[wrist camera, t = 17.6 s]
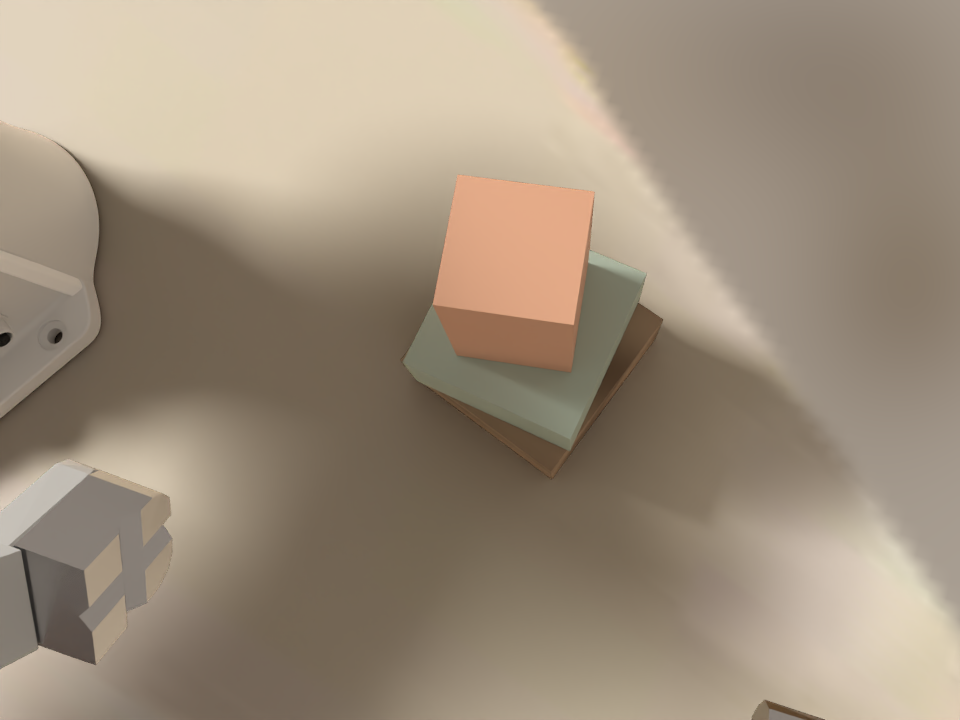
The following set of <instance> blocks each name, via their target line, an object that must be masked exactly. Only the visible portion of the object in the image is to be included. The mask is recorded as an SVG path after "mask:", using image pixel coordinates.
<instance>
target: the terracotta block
mask: <svg viewBox="0 0 960 720" xmlns="http://www.w3.org/2000/svg"><path fill="white" fill-rule="evenodd" d="M594 193H595V192H593V191H585V190H577V189H569V188H561V187H553V186H545V185H537V184H529V183H521V182H512V181H504V180H496V179H488V178H480V177H472V176H464V175H458V176H457V181H456V186H455V191H454V197H453V202H452V207H451V212H450V217H449V222H448V228H447V233H446V238H445V243H444V248H443V253H442V259H441V264H440V269H439V274H438V279H437V284H436V290H435V295H434V300H433V307H434V309H435V311H436V313H437V315H438V317H439V319H440V321H441V324H442V326H443V328H444V330H445V332H446V334H447V336H448V338H449V340H450V342H451V344H452V347H453V349H454V351H455V353H456V355H457V356H464V357H470V358H477V359H484V360H490V361H497V362H504V363H510V364H517V365H524V366H530V367H537V368H544V369H550V370H557V371H564V372H570V373H571V371H572V365H573V358H574V352H575V345H576V339H577V333H578V326H579V320H580V313H581V307H582V300H583V294H584V288H585V281H586V275H587V268H588V261H589V250H590V238H591V227H592V216H593V204H594Z"/></svg>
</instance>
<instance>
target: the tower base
mask: <svg viewBox="0 0 960 720" xmlns="http://www.w3.org/2000/svg"><path fill="white" fill-rule="evenodd" d="M662 321H663V319H662V318H660V317H659V316H657V315H656V314H654V313H653V312H651V311H650V310H648V309H647V308H645V307H644V306H642V305H641V304H639V303H638V304H637V306H636V308H635V311H634V313H633V315H632V317H631V319H630V321H629V324H628V326H627V328H626V330H625V332H624V334H623V337H622V339H621V341H620V343H619V345H618V348H617V350H616V352H615V354H614V356H613V358H612V361H611V363H610V365H609V367H608V369H607V372H606V374H605V376H604V378H603V380H602V382H601V385H600V387H599V389H598V391H597V393H596V396H595V398H594V400H593V402H592V404H591V406H590V409H589V411H588V413H587V415H586V417H585V419H584V422H583V424H582V426H581V428H580V430H579V433H578V435H577V437H576V439H575V441H574V443H573V446H572V448H571V450H570V451H568V450H566V449H563V448H561V447H559V446H557V445H555V444H552V443H550V442H548V441H546V440H544V439H542V438H539V437H537V436H535V435H533V434H531V433H529V432H526V431H524V430H522V429H520V428H518V427H516V426H513V425H511V424H509V423H507V422H505V421H503V420H500V419H498V418H496V417H494V416H492V415H490V414H487V413H485V412H483V411H481V410H479V409H476V408H474V407H472V406H470V405H468V404H466V403H463V402H461V401H459V400H457V399H455V398H453V397H450V396H448V395H446V394H444V393H442V392H440V391H437V390H435V389H433V388H431V387H429V386H427V385H426V386H427V387H428V388H430V389H431V390H432V391H434V392H435V393H436V394H438V395H439V396H440V397H442V398H443V399H444V400H446V401H447V402H448V403H450V404H451V405H452V406H454V407H455V408H456V409H458V410H459V411H461V412H462V413H463V414H465V415H466V416H467V417H469V418H470V419H471V420H473V421H474V422H475V423H477V424H478V425H479V426H481V427H482V428H483V429H485V430H486V431H487V432H489V433H490V434H491V435H493V436H494V437H496V438H497V439H498V440H500V441H501V442H502V443H504V444H505V445H506V446H508V447H509V448H510V449H512V450H513V451H514V452H516V453H517V454H518V455H520V456H521V457H522V458H524V459H525V460H526V461H528V462H529V463H531V464H532V465H533V466H535V467H536V468H537V469H539V470H540V471H541V472H543V473H544V474H545V475H547V476H548V477H549V478H551V479H552V478H553V477H554V476H555V474H556V473H557V472H558V470H559V469H560V468H561V466H562V465H563V464H564V462H565V461H566V459H567V458H568V457H569V455H570V454H571V453H572V451H573V450H574V449H575V447H576V446H577V445H578V443H579V442H580V440H581V439H582V438H583V436H584V435H585V434H586V432H587V431H588V430H589V428H590V427H591V426H592V424H593V423H594V421H595V420H596V419H597V417H598V416H599V415H600V413H601V412H602V411H603V409H604V408H605V407H606V405H607V404H608V402H609V401H610V400H611V398H612V397H613V396H614V394H615V393H616V392H617V390H618V389H619V387H620V386H621V385H622V383H623V382H624V381H625V379H626V378H627V377H628V375H629V374H630V373H631V371H632V370H633V368H634V367H635V366H636V364H637V363H638V362H639V360H640V359H641V358H642V356H643V355H644V354H645V352H646V351H647V349H648V348H649V347H650V345H651V344H652V343H653V341H654V340H655V338H656V336H657V334H658V331H659V329H660V326H661V324H662ZM409 349H410V348H409ZM408 351H409V350H408ZM408 351H407V352H406V353H405V355H404V356H403V357H402V359H401V360H400V361H401V362H402V363H403V360H404V358H405V357H406V355H407V353H408ZM404 366H405V365H404ZM405 367H406V366H405ZM408 371H409V370H408ZM409 372H410V371H409ZM412 376H413V375H412Z"/></svg>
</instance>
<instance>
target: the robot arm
mask: <svg viewBox="0 0 960 720" xmlns="http://www.w3.org/2000/svg"><path fill="white" fill-rule="evenodd" d="M98 240H99V216H98V208H97V204H96V199H95V196H94V192H93V190H92V187H91V185H90V183H89V180H88V178H87V177H86V175H85V173H84V171H83V170H82V168H81V167H80V166H79V164H78V163H77V162H76V161H75V159H74V158H73V157H72V156H71V155H70V154H69V153H68V152H67V151H66V150H64V149H63V148H62V147H61V146H59V145H58V144H56V143H55V142H53V141H52V140H50V139H48V138H46V137H44V136H42V135H40V134H37V133H35V132H32V131H28V130H25V129H21V128H18V127H15V126H12V125H10V124H7V123H5V122H2V121H0V418H1V417H3V416H4V415H5V414H6V413H7V412H9V411H10V410H11V409H12V408H13V407H15V406H16V405H17V404H18V403H19V402H21V401H22V400H23V399H24V398H25V397H27V396H28V395H29V394H30V393H31V392H33V391H34V390H35V389H36V388H37V387H39V386H40V385H41V384H42V383H43V382H45V381H46V380H47V379H48V378H49V377H51V376H52V375H53V374H54V373H55V372H57V371H58V370H59V369H60V368H61V367H63V366H64V365H65V364H66V363H67V362H69V361H70V360H71V359H72V358H73V357H75V356H76V355H77V354H78V353H79V352H81V351H82V350H83V349H84V348H85V347H87V346H88V345H89V344H90V343H91V342H92V341H93V340H94V339H95V338H96V336H97V335H98V333H99V330H100V326H101V314H100V308H99V303H98V299H97V295H96V291H95V287H94V283H93V274H94V265H95V260H96V254H97V248H98ZM60 332H62V334H63V336H62V339H61V341H60V342H58V343H56V344H55V337H56V335H57V334H58V333H60ZM170 516H171V508H170V497H169V496H167V495H165V494H163V493H160V492H157V491H155V490H152V489H149V488H147V487H144V486H141V485H139V484H136V483H133V482H131V481H128V480H125V479H123V478H120V477H117V476H115V475H112V474H109V473H107V472H104V471H102V470H98V469H95V468H92V467H90V466H87V465H84V464H81V463H79V462H76V461H73V460H70V459H67V460H64V461H61V462H58V463H56V464H55V465H53V466H52V467H51V468H50V469H49V470H48V471H47V472H45V473H44V474H43V475H42V476H41V477H40V478H39V479H37V480H36V481H35V482H34V483H33V484H32V485H31V486H29V487H28V488H27V489H26V490H25V491H24V492H23V493H21V494H20V495H19V496H18V497H17V498H16V499H15V500H13V501H12V502H11V503H10V504H9V505H8V506H7V507H5V508H4V509H3V510H2V511H1V512H0V669H1V668H3V667H5V666H7V665H9V664H11V663H13V662H15V661H17V660H18V659H20V658H22V657H24V656H26V655H28V654H30V653H32V652H34V651H36V650H37V649H38V645H39V646H42V647H45V648H48V649H51V650H54V651H56V652H59V653H62V654H65V655H68V656H71V657H74V658H77V659H79V660H82V661H85V662H88V663H91V664H94V665H97V664H98V662H99V661H100V660H101V659H102V657H103V656H104V655H105V654H106V653H107V651H108V650H109V649H110V648H111V646H112V645H113V644H114V643H115V642H116V640H117V639H118V638H119V637H120V636H121V634H122V633H123V632H124V631H125V629H126V628H127V611H129V610H131V609H134V608H136V607H139V606H141V605H143V604H146V603H147V602H148V601H149V600H150V599H151V597H152V596H153V595H154V593H155V592H156V591H157V590H158V588H159V587H160V585H161V583H162V581H163V579H164V577H165V575H166V573H167V571H168V568H169V566H170V561H171V556H172V552H173V550H172V537H171V536H170V534H169V533H168V531H167V530H166V528H165V527H164V526H163V524H164V523H165V521H166V520H167V519H168V518H169V517H170ZM752 720H825V719H821V718H818V717H815V716H812V715H809V714H806V713H803V712H800V711H797V710H794V709H791V708H788V707H785V706H782V705H779V704H776V703H773V702H770V701H767V700H764V701H763V702H761V703H760V704H759V705H758V707H757V708H756V710H755V712H754V714H753V715H752Z"/></svg>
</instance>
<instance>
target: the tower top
mask: <svg viewBox="0 0 960 720" xmlns="http://www.w3.org/2000/svg"><path fill="white" fill-rule="evenodd" d="M645 278H646V273H644V272H642V271H639V270H637V269H634V268H632V267H629V266H627V265H625V264H622V263H620V262H617V261H615V260H613V259H610V258H608V257H605V256H603V255H601V254H598V253H596V252H593V251H591V250H589V261H588V268H587V275H586V281H585V288H584V294H583V300H582V307H581V313H580V320H579V326H578V333H577V339H576V345H575V352H574V358H573V365H572V371H571V373H570V372H564V371H557V370H550V369H544V368H537V367H530V366H524V365H517V364H510V363H504V362H497V361H490V360H484V359H477V358H470V357H464V356H457V355H456V353H455V351H454V349H453V347H452V344H451V342H450V340H449V338H448V336H447V334H446V332H445V330H444V328H443V326H442V324H441V321H440V319H439V317H438V315H437V313H436V311H435V309H434V307H433V303H432V305H431V307H430V309H429V311H428V313H427V315H426V317H425V319H424V321H423V323H422V325H421V327H420V329H419V331H418V333H417V335H416V337H415V339H414V341H413V343H412V345H411V347H410V349H409V351H408V353H407V355H406V357H405V358H404V360H403V364H404V365H405V366H406V368H407V369H408V370H409V371H410V373H411V374H412V375H413V377H414V378H415V379H416V380H417V381H418V382H420V383H422V384H424V385H427V386H429V387H431V388H433V389H435V390H437V391H440V392H442V393H444V394H446V395H448V396H450V397H453V398H455V399H457V400H459V401H461V402H463V403H466V404H468V405H470V406H472V407H474V408H476V409H479V410H481V411H483V412H485V413H487V414H490V415H492V416H494V417H496V418H498V419H500V420H503V421H505V422H507V423H509V424H511V425H513V426H516V427H518V428H520V429H522V430H524V431H526V432H529V433H531V434H533V435H535V436H537V437H539V438H542V439H544V440H546V441H548V442H550V443H552V444H555V445H557V446H559V447H561V448H563V449H566V450H568V451H570V450H571V448H572V446H573V443H574V441H575V439H576V437H577V435H578V433H579V430H580V428H581V426H582V424H583V422H584V419H585V417H586V415H587V413H588V411H589V409H590V406H591V404H592V402H593V400H594V398H595V396H596V393H597V391H598V389H599V387H600V385H601V382H602V380H603V378H604V376H605V374H606V372H607V369H608V367H609V365H610V363H611V361H612V358H613V356H614V354H615V352H616V350H617V348H618V345H619V343H620V341H621V339H622V337H623V334H624V332H625V330H626V328H627V326H628V324H629V321H630V319H631V317H632V315H633V313H634V311H635V308H636V306H637V304H638V302H639V299H640V296H641V292H642V288H643V285H644V281H645Z"/></svg>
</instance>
